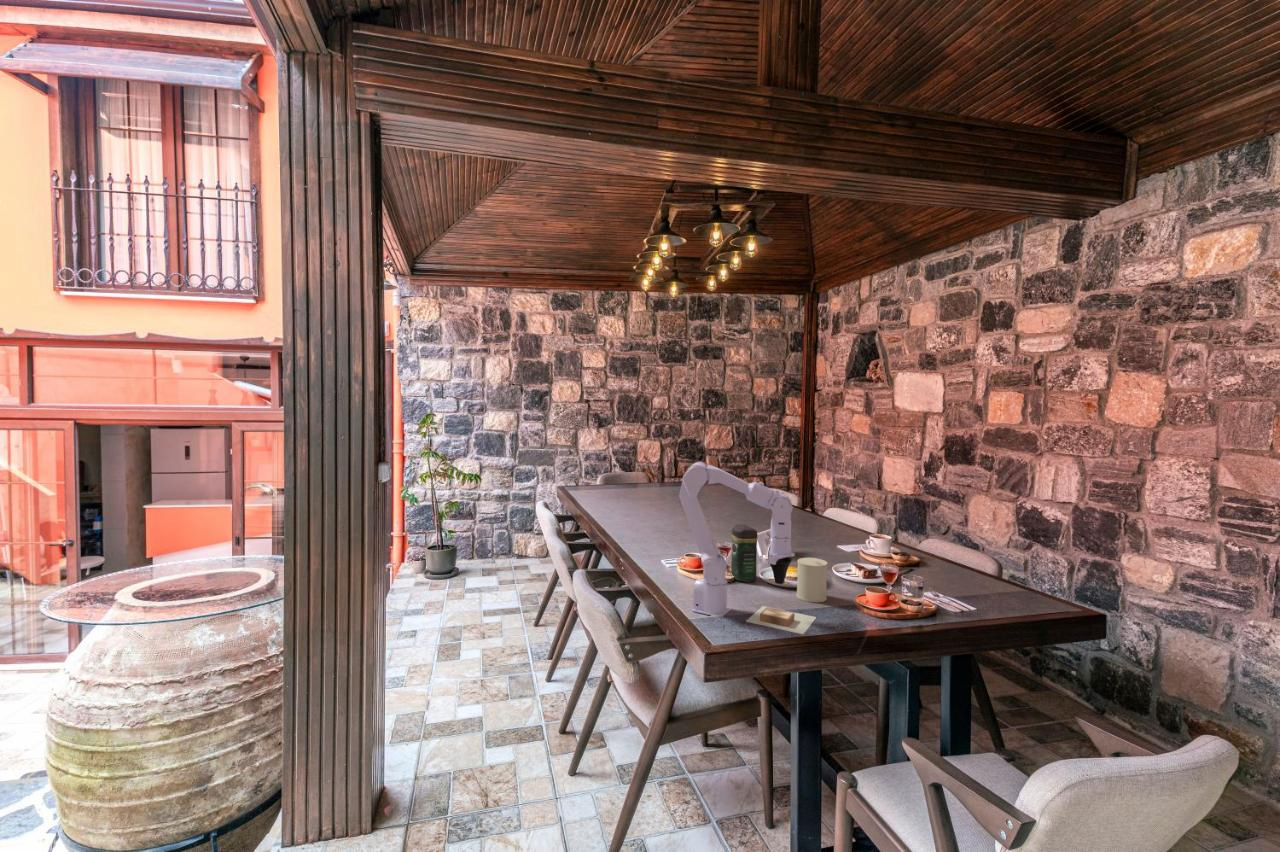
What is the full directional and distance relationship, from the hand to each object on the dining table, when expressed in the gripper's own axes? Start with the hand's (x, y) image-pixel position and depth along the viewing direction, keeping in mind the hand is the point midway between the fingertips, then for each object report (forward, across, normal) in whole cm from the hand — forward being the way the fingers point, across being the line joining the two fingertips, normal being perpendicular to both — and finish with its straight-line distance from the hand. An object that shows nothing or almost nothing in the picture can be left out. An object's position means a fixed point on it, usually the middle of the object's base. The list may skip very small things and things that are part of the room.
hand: (779, 583), depth 164 cm
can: (+10, +22, -3) cm, 24 cm away
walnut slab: (+8, -1, -1) cm, 8 cm away
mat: (+10, -3, -2) cm, 10 cm away
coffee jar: (+10, +28, +22) cm, 37 cm away
